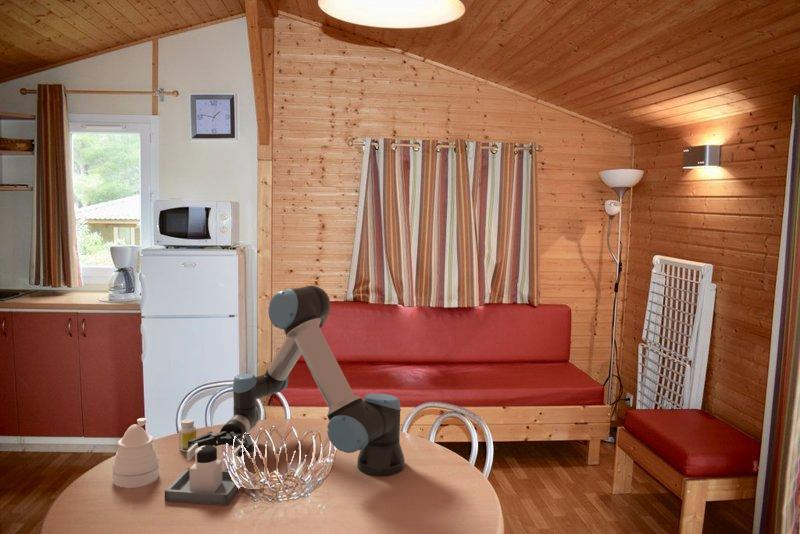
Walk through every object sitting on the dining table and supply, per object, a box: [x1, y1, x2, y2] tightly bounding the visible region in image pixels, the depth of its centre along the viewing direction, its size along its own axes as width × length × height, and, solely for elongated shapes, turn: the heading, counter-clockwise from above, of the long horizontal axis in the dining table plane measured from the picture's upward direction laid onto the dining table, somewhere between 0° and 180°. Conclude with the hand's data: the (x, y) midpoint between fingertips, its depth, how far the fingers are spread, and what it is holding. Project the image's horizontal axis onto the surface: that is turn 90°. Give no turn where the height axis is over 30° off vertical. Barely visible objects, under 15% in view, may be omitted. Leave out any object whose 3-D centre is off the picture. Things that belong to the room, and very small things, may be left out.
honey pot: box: [111, 417, 160, 489], centre depth 188 cm, size 13×13×18 cm
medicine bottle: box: [189, 445, 223, 492], centre depth 181 cm, size 7×7×12 cm
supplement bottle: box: [178, 418, 197, 453], centre depth 211 cm, size 5×5×10 cm
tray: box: [164, 467, 239, 506], centre depth 182 cm, size 18×15×3 cm
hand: (210, 457), depth 184 cm, fingers open, 13 cm apart
